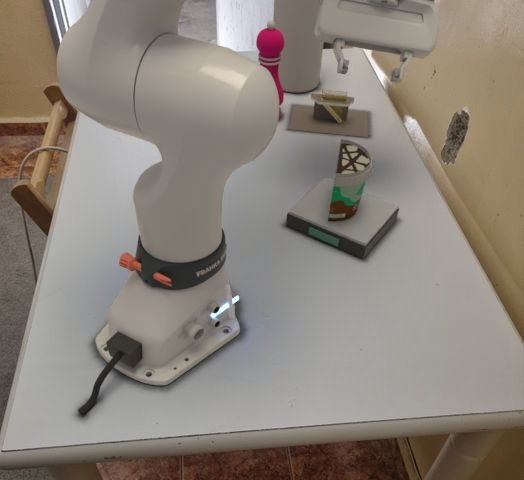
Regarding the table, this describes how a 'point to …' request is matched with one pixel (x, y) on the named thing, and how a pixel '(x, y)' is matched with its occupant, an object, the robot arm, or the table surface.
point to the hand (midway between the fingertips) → (369, 77)
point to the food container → (349, 180)
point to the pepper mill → (271, 53)
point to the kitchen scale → (342, 232)
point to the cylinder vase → (298, 44)
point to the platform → (330, 116)
